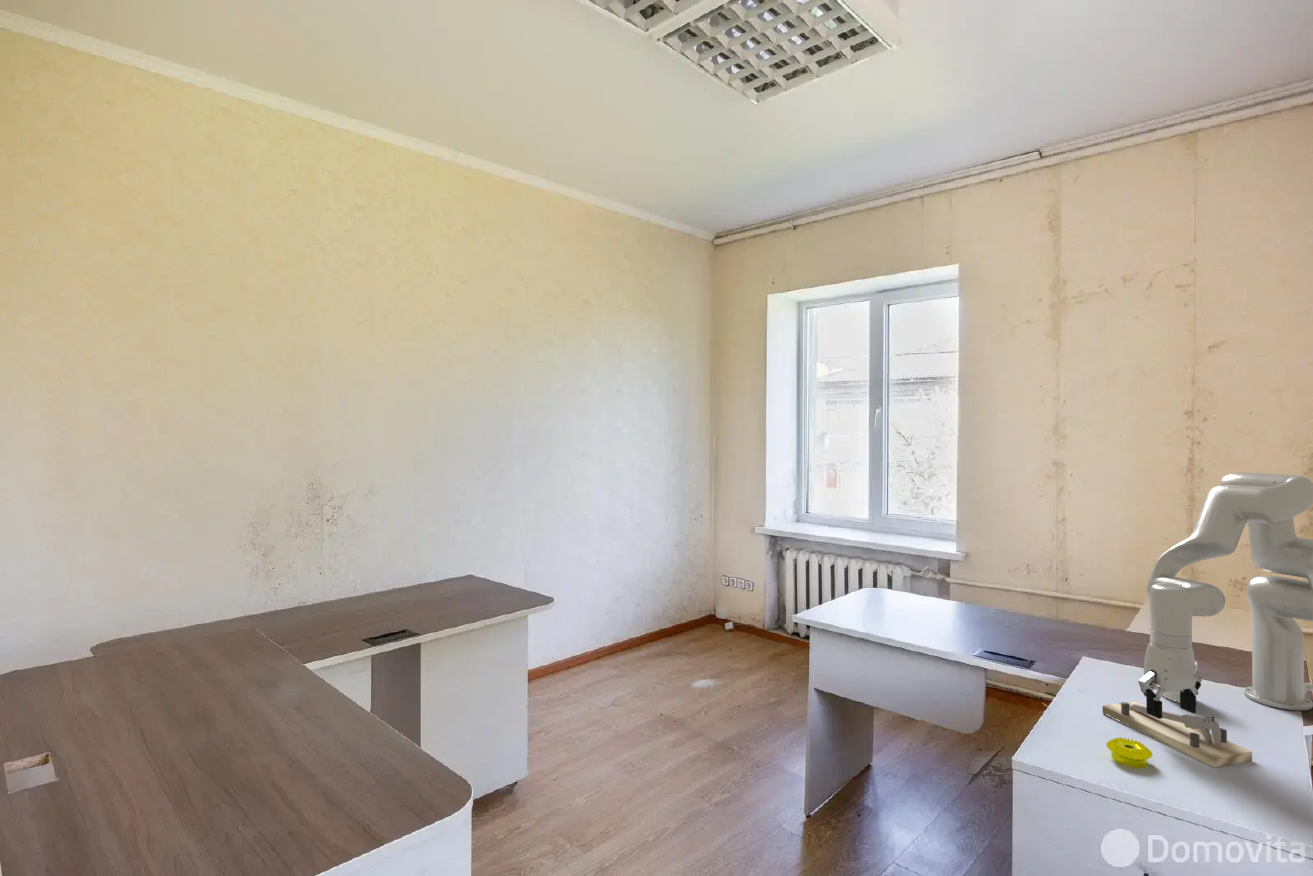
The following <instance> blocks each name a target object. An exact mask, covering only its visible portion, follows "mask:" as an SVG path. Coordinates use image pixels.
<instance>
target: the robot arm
mask: <svg viewBox="0 0 1313 876" xmlns="http://www.w3.org/2000/svg"><path fill="white" fill-rule="evenodd" d="M1312 505H1313V481H1311V480H1310V479H1309V478H1307V476H1306V477H1305V476H1303V475H1295V474H1280V473H1277V474H1276V473H1265V472H1264V473H1263V472H1231V473H1228V474H1225V475H1224V476H1223V477H1222V478H1221V480H1220V485H1217V486H1214V487H1212V488H1211V489H1210V490H1209V491H1208V493H1207V495H1206V497H1205V499H1204V501H1203V505H1202V507H1201V509H1200V511H1199V515H1198V517H1197V519H1196V521H1195V524H1194V525H1193V529H1192V531H1191V533H1190V536H1188V537H1187V538H1185V539H1184V540H1182V541H1180V542H1178V543H1176V544H1175V545H1173V546H1172V547H1170V548H1169V549H1167V550H1166V551H1165V552H1163V553H1162V554H1161V555H1160V556H1159V557H1158V558H1157V560H1156V561H1155V563H1154V565H1153V568H1152V570H1151V572H1150V575H1149V578H1148V581H1147V583H1146V596H1147V598H1148V599H1149V631H1150V632H1149V633H1150V634H1149V643H1147V645H1146V646H1147V647H1146V650H1145V651H1146V652H1145V655H1144V663H1143V664H1144V667H1143V676H1142V677H1141V678H1140V679H1139V680H1137V682H1138V683H1137V684H1138V685H1139V688H1140V691H1141V692H1142V693H1143V696H1144V697H1145V698H1146V704H1145V705H1146V706H1147V713H1148V714H1149V715H1152V716H1154V717H1156V718H1158V719H1161V718H1162V710H1163V701H1162V700H1161V698H1162V697H1163V696H1162V695H1163V693H1164V692H1171V691H1178V690H1183V691H1180V703H1179V707H1180V709H1181V710H1184V711H1186V712H1189V713H1191V714H1196V713H1197V696H1198V695H1199V689H1200V688H1201V686H1202V681H1203V678H1204V674H1203V672H1200V671H1198V670H1197V671H1196V665H1195V661H1196V659H1195V652H1194V648H1193V617H1205V618H1207V617H1212V616H1215V615H1218V614H1220V612H1222V611H1223V610H1224V608H1225V605H1226V597H1225V594H1224V592H1223V591H1222V589H1220V588H1219V587H1217V586H1215V585H1213V584H1210V583H1206V582H1202V581H1196V580H1191V579H1187V578H1180V577H1176V576H1177V575H1178V573H1179V572H1180V571H1181V570H1182V569H1184V568H1185V567H1187V566H1189V565H1191V564H1194V563H1198V562H1200V561H1207V560H1210V559H1215V558H1222V557H1225V556H1228V555H1232V554H1233V553H1234V552H1235V551H1236V549H1237V547H1238V544H1239V542H1240V539H1241V537H1242V534H1243V531H1244V529H1245V526H1246V524H1247V527H1248V538H1249V547H1250V554H1251V555H1250V556H1251V560H1252V561H1251V562H1252V564H1253V565H1254V567H1256V568H1257V569H1259V570H1261V571H1264V572H1268V573H1269V572H1270V573H1273V574H1280V575H1285V576H1278V575H1269V574H1268V575H1266V574H1265V575H1263V574H1262V575H1258V576H1255V577H1254V576H1253V577H1252V578H1251V579H1250V580H1249V581H1248V583H1247V585H1246V596H1247V602H1248V605H1249V609H1250V615H1251V636H1252V637H1251V658H1252V659H1251V661H1252V662H1251V663H1252V664H1251V666H1252V667H1251V668H1252V669H1251V670H1252V672H1251V673H1252V674H1251V677H1252V678H1251V679H1252V680H1251V681H1252V685H1251V686H1247V687H1245V688H1244V689H1243V690H1244V691H1243V692H1244V695H1245V697H1247V698H1248V699H1250V700H1252V701H1255V702H1257V703H1259V704H1261V705H1265V706H1269V707H1273V708H1277V709H1282V710H1289V711H1309V710H1311V709H1313V701H1312V700H1311V699H1310V698H1309V697H1307V696H1306V693H1307V692H1313V683H1311V682H1305V651H1304V649H1305V646H1304V645H1305V636H1304V633H1303V631H1302V628H1301V627H1300V625H1299V624H1298V622H1297V621H1296V620H1302V621H1306V622H1312V623H1313V539H1311V538H1303V537H1299V536H1298V535H1297V534H1296V529H1295V521H1294V518H1295V517H1296V516H1298V515H1300V514H1302V513H1304V512H1306V511H1307V510H1308V509H1310V508H1311V507H1312ZM1286 576H1292V577H1297V578H1298V577H1299V578H1303V579H1306V580H1301V579H1297V578H1296V579H1295V578H1291V577H1286ZM1295 619H1296V620H1295ZM1154 690H1156V692H1154Z"/></svg>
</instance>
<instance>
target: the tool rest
mask: <svg viewBox="0 0 1313 876" xmlns="http://www.w3.org/2000/svg"><path fill="white" fill-rule="evenodd" d="M1133 704H1137V705H1142V706H1146V707H1147V705H1146V704H1144V703H1141V702H1139V701H1136V700H1132V701H1126V702H1125V701H1121V702H1119V703H1118V702H1117V703H1113V704H1111V703H1110V704H1105V705H1102V714H1103V713H1104V714H1108V715H1110V716H1111V717H1113V718H1115V719H1118V720H1120V721H1121V722H1123V723H1126V724H1128V725H1129V726H1131V727H1133V728H1135V729H1137V730H1136V731H1138V730H1139V731H1138V732H1140V733H1142V732H1143V733H1142V734H1144V733H1145V734H1144V735H1146V734H1147V735H1146V736H1148V735H1149V736H1148V737H1150V738H1152V737H1154V738H1155V740H1156V739H1157V740H1156V741H1158V742H1161V743H1162V744H1165V745H1167V746H1169V747H1171V748H1174V749H1175V750H1178V751H1180V752H1182V753H1184V754H1186V755H1188V756H1190V757H1192V758H1194V759H1197V760H1198V761H1200V762H1203V763H1205V764H1207V765H1209V766H1211V767H1214V768H1220V767H1227V766H1231V765H1236V764H1237V765H1238V764H1243V763H1247V762H1248V763H1249V762H1252V761H1253V751H1251V750H1250V749H1248V748H1246V747H1243V746H1241V745H1238V744H1236V743H1233V742H1231V741H1229V740H1228V731H1227V729H1225V728H1221V727H1220V730H1221V745H1219V746H1215V743H1214V739H1213V735H1212V732H1210V734H1211V738H1212V739H1211V740H1212V744H1208V743H1207V742H1206V740H1205V738H1204V736H1203V734H1202V732H1201V730H1200V729H1191V728H1186V727H1185V724H1184V723H1181V722H1177V721H1173V720H1169V719H1165V718H1161V719H1158V718H1156V717H1154V716H1152V715H1149V714H1145V713H1141V712H1136V711H1133V708H1129V706H1130V705H1133ZM1104 714H1103V715H1104ZM1115 719H1114V720H1115ZM1121 722H1120V723H1121ZM1123 723H1122V724H1123ZM1129 726H1128V727H1129ZM1131 727H1130V728H1131ZM1133 728H1132V729H1133ZM1135 729H1134V730H1135ZM1154 738H1153V739H1154Z"/></svg>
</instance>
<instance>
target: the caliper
mask: <svg viewBox="0 0 1313 876" xmlns="http://www.w3.org/2000/svg"><path fill="white" fill-rule="evenodd" d="M1146 706H1147V705H1146ZM1146 706H1142V705H1137V704H1133V705H1130V706H1129V708H1133V711H1136V712H1141V713H1145V714H1148V713H1147V707H1146ZM1203 716H1204V717H1199V716H1195V715H1191V714H1179V713H1175V712H1171V711H1165V710H1163V709H1162V718H1165V719H1169V720H1173V721H1177V722H1181V723H1184V724H1185V727H1186V728H1191V729H1200V730H1201V732H1202V734H1203V736H1204V738H1205V740H1206V742H1207V743H1208V744H1212V740H1211V739H1212V738H1211V734H1212V735H1213V739H1214V743H1215V746H1219V745H1221V730H1220V728H1221V727H1220V725H1219V724H1220V723H1219V721H1216V719H1215V716H1214V715H1211V716H1210V715H1209V714H1204V715H1203ZM1210 733H1211V734H1210Z"/></svg>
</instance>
